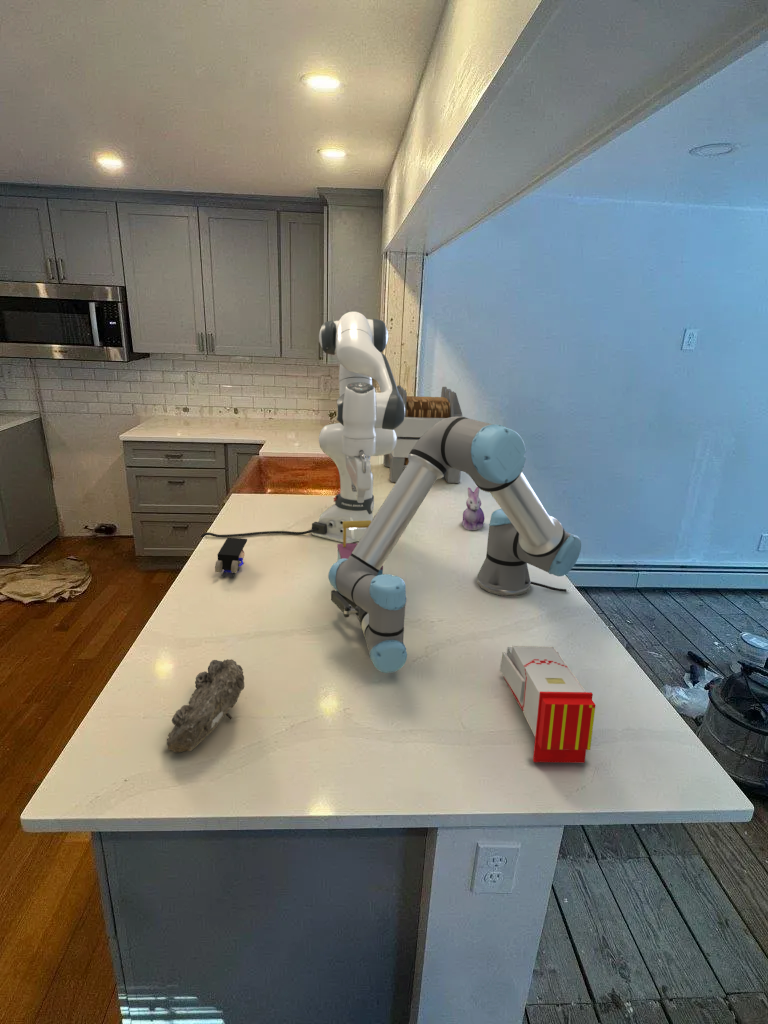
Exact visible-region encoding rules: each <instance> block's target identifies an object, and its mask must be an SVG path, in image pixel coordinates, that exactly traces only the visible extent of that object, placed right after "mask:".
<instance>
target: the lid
mask: <svg viewBox="0 0 768 1024" xmlns="http://www.w3.org/2000/svg"><path fill="white" fill-rule="evenodd" d="M370 523H371V520H367V521H343V542H342V543H337V545H336V546H337V550H338V551H339V554H340V557H341V559H348V558H349V556H350V555H351V554H352V552H353V550H354V549H355V547H356V545H357V544H358V542H353V543H346V528H368V526H369V525H370ZM380 570H383V571H384V564H383V565H382V567H381V569H380Z"/></svg>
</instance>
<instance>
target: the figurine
mask: <svg viewBox="0 0 768 1024" xmlns="http://www.w3.org/2000/svg"><path fill="white" fill-rule="evenodd" d="M479 494H480V488H478V486H477V487H475V489H474V490H473V489H472V488H471V487H470V486H468V487H467V499H466V502H465V504H466V509H465V510H463V513H462V521H461V526H462V527H463V528H464V529H465V530H469V531H476V530H480V529H482V528H483V527H484V524H485V513H484V511H483V509H482V501H481V498H480V496H479Z"/></svg>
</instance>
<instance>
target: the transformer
mask: <svg viewBox="0 0 768 1024" xmlns="http://www.w3.org/2000/svg"><path fill="white" fill-rule="evenodd" d="M396 386H397V389H398V391H399V393H400V395H401V397H402V399H403V402H404V406H405V417H404V421H403V422H402V423H401V424H400V425H399V426H398V427H397V428H395V429H394V431H395V433H396V436H397V443H396V446H395V448H394V450H393V451H392V452H391V453H390V454H386V455H383V466H384V467H388V468H389V475H388V476H389V477H388V478H389V480H390V482H391V483H396V482H397V480H398V479H399V477H400V476H401V474H402V472H403V471H404V469H405V466H407V464H408V463H409V459H408V455H409V453H410V452H411V450H412V448H413V447H414V446H415V444H416V443H417V441H418V440H419V439H420V438H421V437H422V436H423V435H424V434H425V433H426V432H427V431H428V430H429V429H430V428H431V427H432V426H434V425H435V424H437V423H438V422H440V421H442V420H444V419H446V418H449V417H455V416H460V417H463V411H462V408H461V405H460V402H459V398H458V395H457V392H455V391H453V390H452V389H451V388H447V386H442V387H441V392H440V393H441V394H440V396H415V395H414V396H413V395H412V396H411V395H407V394H408V393H407V390H406V389H404V388H403V387H402V385H399V384H398V385H396ZM461 472H462V471H460V470H457V469H454V468H450V469H448V470H447V472H446V473H445V475H444V476H443V478H444V479H445V481H446V482H447V483H449V484H455V483H456V484H459V483H461Z"/></svg>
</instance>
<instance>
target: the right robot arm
mask: <svg viewBox="0 0 768 1024" xmlns="http://www.w3.org/2000/svg"><path fill="white" fill-rule="evenodd" d="M526 453H527V448H526V444H525V442H524V439H523V438H522V436H521V435H520V434H519V433H518V432H517V431H516V430H513V429H511V428H509V427H507V426H504V425H501V424H498V423H497V424H495V423H489V422H486V421H482V420H476V419H473V418H468V417H465V416H462V417H460V416H455V417H449V418H446V419H444V420H442V421H440V422H438V423H437V424H435V425H434V426H432V427H431V428H430V429H429V430H428V431H427V432H426V433H425V434H424V435H423V436H422V437H421V438H420V439H419V440H418V441H417V443H416V444H415V446H414V447H413V448H412V450H411V452H410V453H409V455H408V459H409V463H408V464H407V465H405V467H404V468H403V472H402V474H401V476H400V477H399V479H398V480H397V482H395V483H394V485H393V487H392V488H391V489H390V492H389V493H388V495H387V496H386V497H385V499H384V501H383V503H382V504H381V506H380V507H379V508H378V511H377V512H376V513H375V515H374V516H373V520H372V522H371V523H370V525H369V526H368V528H367V529H366V531H365V533H364V534H363V536H362V537H361V539H360V541H357V543H358V544H357V545H356V547H355V549H354V550H353V552H352V554H351V555H350V556H349V558H348V559H340V560H338V561H335V562H334V563H333V564H332V565H331V566H330V568H329V571H328V575H327V576H328V582H329V584H330V586H331V587H333V589H332V590H330V601H331V602H332V603H333V604H334V605H335V606H336V607H337V608H338V609H339V610H340V611H341V612H342V613H343V617H344V618H349V617H350V615H354V614H355V615H356V616H357V618H358V620H359V624H360V627H361V630H362V632H363V637H364V640H365V643H366V646H367V650H368V654H369V658H370V661H371V662H372V664H373V666H374V668H375V669H376V670H377V671H378V672H381V673H384V674H391V673H395V672H397V671H399V670H401V669H403V667H404V666H405V664H406V663H407V660H408V652H407V646H406V644H405V643H404V635H405V616H406V605H407V594H406V593H407V592H406V591H407V587H406V586H407V584H406V582H405V580H404V579H403V578H401V577H400V576H398V575H393V574H389V573H383V574H382V575H378V576H376V575H377V574H378V572H379V570H380V569H381V567H382V565H383V566H384V564H385V563H386V561H387V559H388V558H389V556H390V554H391V553H392V551H393V550H394V548H395V546H396V545H397V543H398V542H399V541H400V539H401V537H402V535H403V533H404V532H405V531H406V529H407V528H408V526H409V524H410V523H411V521H412V519H413V518H414V517H415V514H416V513H417V511H418V510H419V508H420V506H421V505H422V504H423V502H424V500H425V498H426V497H427V496H428V494H429V492H430V490H431V489H432V488H433V486H434V484H435V483H436V481H437V480H440V479H442V478H444V475H445V473H446V472H447V470H448V469H450V468H454V469H457V470H460V471H461V472H463V473H465V474H467V475H468V476H469V477H470V478H471V480H472V481H473V483H474V484H475V485H476V486H477V487H478V488H479V490H481V491H482V492H485V493H490V495H491V496H492V497H493V499H494V501H495V502H496V503H497V504H498V506H499V507H500V508H498V509H496V510H494V511H493V512H492V513H491V515H490V520H489V523H488V535H487V544H486V555H485V556H486V557H485V559H484V561H483V562H482V565H481V568H480V569H479V571H478V572H477V578H476V583H477V586H478V587H480V589H482V590H483V591H485V592H487V593H490V594H493V595H496V596H500V597H519V596H523V595H526V594H527V593H529V592H530V590H531V585H533V586H536V587H541V588H544V589H547V590H551V591H555V592H562V593H566V592H567V588H558V587H553V586H549V585H546V584H543V583H538V582H535V581H532V580H531V577H530V576H531V575H530V572H529V567H528V564H529V565H531V566H533V567H535V568H537V569H539V570H542V571H543V572H546V573H547V574H549V575H553V576H556V577H564V576H565V575H567V574H568V573H570V571H572V569H573V568H574V567H575V565H576V563H577V561H578V559H579V557H580V555H581V554H580V553H581V550H582V540H581V538H580V537H579V536H578V535H575V534H574V533H570V532H568V531H566V529H565V528H564V525H562V523H561V522H560V521H559V520H558V519H557V518H556V517H554V516H552V515H549V514H548V512H547V511H546V509H545V506H544V505H543V503H542V502H541V501H540V499H539V497H538V495H537V494H536V492H535V491H534V489H533V488H532V486H531V484H530V483H529V481H528V479H527V477H526V476H525V475H524V473H523V469H524V468H525V465H526V460H527V456H526V455H525V454H526ZM351 606H352V607H351Z"/></svg>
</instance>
